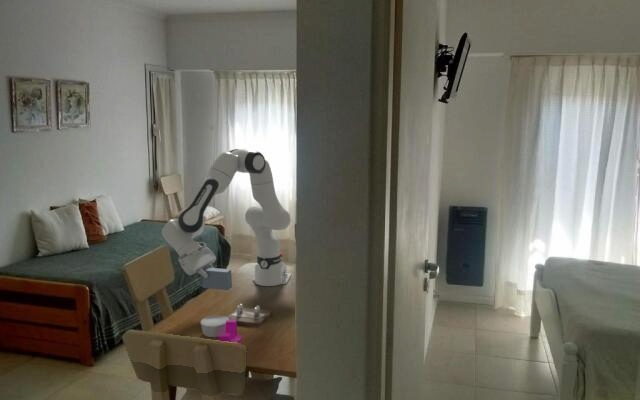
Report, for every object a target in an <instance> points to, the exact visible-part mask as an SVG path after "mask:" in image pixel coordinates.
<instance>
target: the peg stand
mask: <svg viewBox="0 0 640 400" xmlns="http://www.w3.org/2000/svg"><path fill="white" fill-rule="evenodd" d="M271 316H273V310H265V309H261V308H260V305H256V307H254V308H247V307H243V303H238V305H236V309H235V310H233V311H232V312H231V313H230V314H229V315H227V316H226V317H228V318H229V320H237V325H241V326H245V327H246V326H247V327H248V326H249V327H256V328H260V327H261V326H262V325H263V324H264V323H265V322H266V321H267V320H268V319H269V318H270V317H271ZM260 325H261V326H260Z"/></svg>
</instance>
